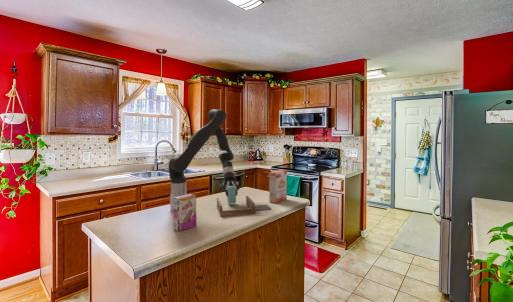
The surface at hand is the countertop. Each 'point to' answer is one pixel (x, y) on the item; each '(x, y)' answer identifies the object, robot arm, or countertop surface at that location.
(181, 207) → the candy bar box
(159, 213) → the countertop surface
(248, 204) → the lane
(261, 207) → the pad
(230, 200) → the teal block
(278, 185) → the cracker box
